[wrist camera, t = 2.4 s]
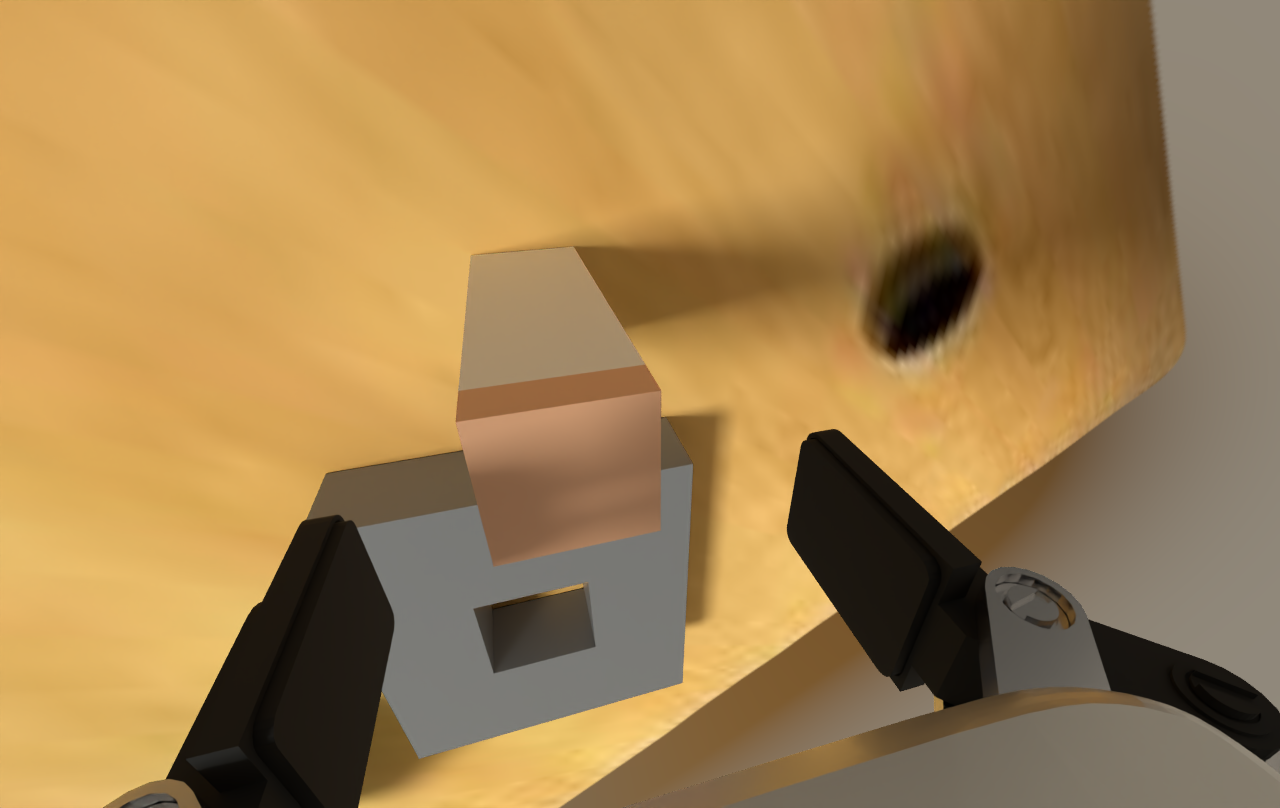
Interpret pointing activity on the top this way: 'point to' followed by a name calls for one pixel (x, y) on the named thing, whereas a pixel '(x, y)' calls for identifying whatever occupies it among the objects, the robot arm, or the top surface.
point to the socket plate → (521, 633)
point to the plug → (554, 409)
